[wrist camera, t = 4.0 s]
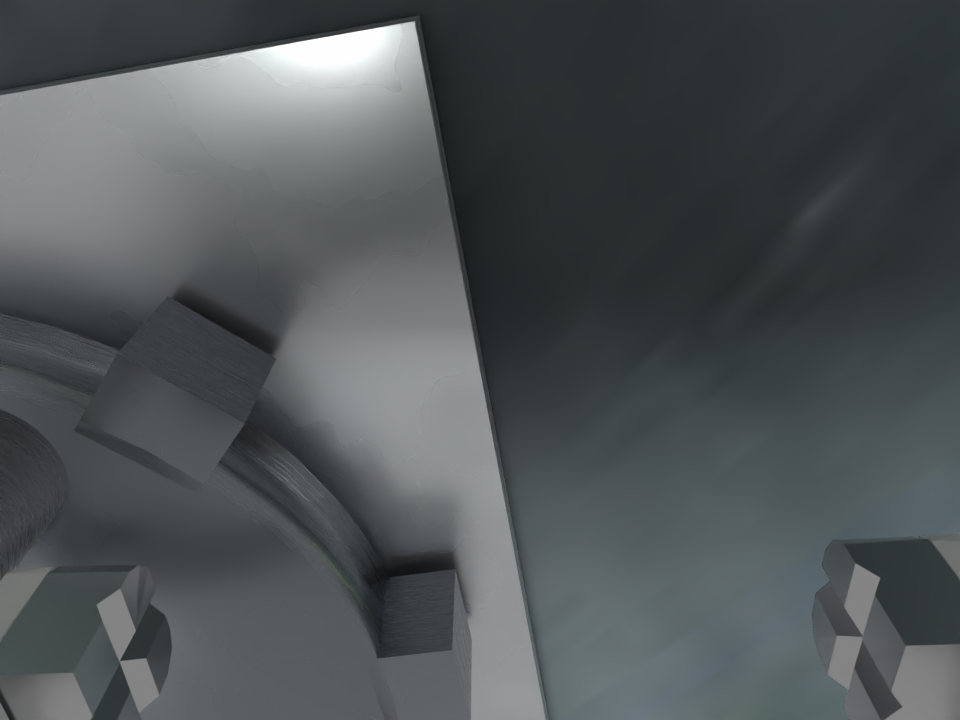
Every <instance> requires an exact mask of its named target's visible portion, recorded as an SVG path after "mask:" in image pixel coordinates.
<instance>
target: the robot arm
mask: <svg viewBox="0 0 960 720" xmlns="http://www.w3.org/2000/svg"><path fill="white" fill-rule="evenodd" d="M822 567H823V569H824V571H825V572H826V574H827V576H828V578H829V580H830V581H829V582H828V583H827V584H825V585H824V586H823V587H822V588H821V589H820V590H819V591H818V592H817V593H816V594H815V599H814V605H813V611H812V622H813V633H814V640H815V643H816V646H817V650H818V653H819V656H820V658H821V661H822V663H823V665H824V667H825V669H826V672H827V674H828V675H829V676H831V677H832V678H833V679H835V680H836V681H837V682H839V683H840V684H841V685H843V686H844V687H845V688H847V689H848V693H847V697H846V701H845V705H844V710H845V712H846V714H847V716H848V718H849V720H960V534H947V535H928V536H919V537H894V538H871V539H848V540H832V541H831V543H830V544H829V545H828V547H827V548H826V550H825V554H824V558H823V562H822ZM156 589H157V588H156V586H155V583H154V581H153V578H152V575H151V573H150V570H149V568H146V567H144V566H141V565H89V566H59V567H18V568H16V569H14V570H13V571H11V572H9V573H7V574H6V575H5V576H4V577H3V578H2V580H1V581H0V720H141V717H140V714H139V712H140V711H142V710H143V709H144V708H145V707H146V706H147V705H149V704H150V703H151V702H152V701H153V700H154V699H156V698H157V697H158V696H159V695H160V693H161V690H162V688H163V685H164V683H165V680H166V678H167V675H168V671H169V664H170V658H171V652H172V643H171V631H170V627H169V624H168V621H167V618H166V615H165V614H163V613H162V612H161V611H159V610H158V609H157V608H155V607H154V606H153V605H152V604H150V601H151V599H152V597H153V595H154V593H155V591H156Z"/></svg>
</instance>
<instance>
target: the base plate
mask: <svg viewBox="0 0 960 720" xmlns="http://www.w3.org/2000/svg"><path fill="white" fill-rule="evenodd" d="M167 296H169V297H170V298H172V299H174V300H175V301H177V302H179V303H181V304H182V305H184V306H186V307H188V308H189V309H191V310H193V311H194V312H196V313H198V314H200V315H201V316H203V317H205V318H207V319H208V320H210V321H212V322H213V323H215V324H217V325H219V326H220V327H222V328H224V329H226V330H227V331H229V332H231V333H232V334H234V335H236V336H238V337H239V338H241V339H243V340H245V341H246V342H248V343H250V344H252V345H253V346H255V347H257V348H258V349H260V350H262V351H264V352H265V353H267V354H269V355H271V356H272V357H274V358H276V361H275V363H274V365H273V367H272V369H271V371H270V373H269V375H268V377H267V379H266V381H265V383H264V385H263V387H262V389H261V391H260V393H259V396H258V398H257V400H256V402H255V404H254V406H253V408H252V410H251V412H250V414H249V416H248V418H247V419H248V420H249V421H250V422H252V423H253V424H254V425H256V426H257V427H258V428H259V429H261V430H262V431H263V432H265V433H266V434H267V435H268V436H270V437H271V438H272V439H274V440H275V441H276V442H277V443H279V444H280V445H281V446H283V447H284V448H285V449H286V450H288V451H289V452H290V453H292V454H293V455H294V456H295V457H296V458H297V459H298V460H299V461H300V462H301V463H302V464H303V465H304V466H305V467H306V468H307V469H308V470H309V471H310V472H311V473H312V474H313V475H314V476H315V477H316V478H317V479H318V480H319V481H320V482H321V483H322V484H323V485H324V486H325V487H326V488H327V489H328V490H329V491H330V492H331V493H332V494H333V495H334V496H335V497H336V499H337V500H338V501H339V502H340V504H341V505H342V506H343V508H344V509H345V510H346V511H347V513H348V514H349V515H350V516H351V518H352V519H353V520H354V521H355V523H356V524H357V525H358V527H359V528H360V529H361V530H362V532H363V533H364V534H365V536H366V538H367V540H368V541H369V543H370V545H371V546H372V548H373V550H374V552H375V553H376V555H377V557H378V558H379V560H380V562H381V564H382V565H383V567H384V569H385V570H386V572H387V574H388V577H395V576H403V575H412V574H420V573H428V572H436V571H444V570H453V569H455V570H456V574H457V578H458V583H459V587H460V591H461V595H462V599H463V604H464V608H465V612H466V616H467V620H468V624H469V629H470V633H471V637H472V668H471V720H549V716H548V711H547V706H546V700H545V695H544V689H543V684H542V678H541V673H540V668H539V662H538V657H537V651H536V646H535V640H534V635H533V630H532V624H531V619H530V613H529V608H528V602H527V597H526V592H525V586H524V581H523V575H522V570H521V564H520V559H519V553H518V548H517V543H516V537H515V532H514V526H513V521H512V515H511V510H510V505H509V499H508V494H507V488H506V483H505V477H504V472H503V467H502V461H501V456H500V450H499V445H498V439H497V434H496V429H495V423H494V418H493V412H492V407H491V401H490V396H489V390H488V385H487V380H486V374H485V369H484V363H483V358H482V352H481V347H480V342H479V336H478V331H477V325H476V320H475V314H474V309H473V304H472V298H471V293H470V287H469V282H468V276H467V271H466V265H465V260H464V255H463V249H462V244H461V238H460V233H459V227H458V222H457V217H456V211H455V206H454V200H453V195H452V189H451V184H450V179H449V173H448V168H447V162H446V157H445V151H444V146H443V141H442V135H441V130H440V124H439V119H438V113H437V108H436V102H435V97H434V92H433V86H432V81H431V75H430V70H429V64H428V59H427V54H426V48H425V43H424V37H423V32H422V26H421V21H420V16H419V15H418V16H413V17H407V18H401V19H396V20H390V21H385V22H379V23H374V24H368V25H362V26H357V27H351V28H346V29H340V30H335V31H329V32H323V33H318V34H312V35H307V36H301V37H296V38H290V39H284V40H279V41H273V42H268V43H262V44H257V45H251V46H245V47H240V48H234V49H229V50H223V51H218V52H212V53H207V54H201V55H195V56H190V57H184V58H179V59H173V60H168V61H162V62H156V63H151V64H145V65H140V66H134V67H129V68H123V69H117V70H112V71H106V72H101V73H95V74H90V75H84V76H78V77H73V78H67V79H62V80H56V81H51V82H45V83H39V84H34V85H28V86H23V87H17V88H12V89H6V90H0V313H2V314H5V315H9V316H13V317H17V318H21V319H25V320H29V321H33V322H37V323H41V324H45V325H49V326H53V327H57V328H61V329H63V330H66V331H69V332H72V333H74V334H77V335H80V336H83V337H85V338H88V339H91V340H94V341H96V342H99V343H102V344H105V345H107V346H110V347H113V348H116V349H118V350H121V349H122V348H123V346H124V345H125V344H126V343H127V342H128V341H129V340H130V338H131V337H132V336H133V335H134V334H135V333H136V332H137V330H138V329H139V328H140V327H141V326H142V325H143V324H144V322H145V321H146V320H147V319H148V318H149V317H150V316H151V314H152V313H153V312H154V311H155V310H156V309H157V308H158V306H159V305H160V304H161V303H162V302H163V301H164V300H165V299H166V297H167Z"/></svg>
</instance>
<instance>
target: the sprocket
mask: <svg viewBox="0 0 960 720" xmlns="http://www.w3.org/2000/svg"><path fill="white" fill-rule="evenodd" d="M275 361H276V358H274V357H272V356H271V355H269V354H267V353H265V352H264V351H262V350H260V349H258V348H257V347H255V346H253V345H252V344H250V343H248V342H246V341H245V340H243V339H241V338H239V337H238V336H236V335H234V334H232V333H231V332H229V331H227V330H226V329H224V328H222V327H220V326H219V325H217V324H215V323H213V322H212V321H210V320H208V319H207V318H205V317H203V316H201V315H200V314H198V313H196V312H194V311H193V310H191V309H189V308H188V307H186V306H184V305H182V304H181V303H179V302H177V301H175V300H174V299H172V298H170V297H169V296H167V297H166V299H165V300H164V301H163V302H162V303H161V304H160V305H159V306H158V308H157V309H156V310H155V311H154V312H153V313H152V314H151V316H150V317H149V318H148V319H147V320H146V321H145V322H144V324H143V325H142V326H141V327H140V328H139V329H138V330H137V332H136V333H135V334H134V335H133V336H132V337H131V338H130V340H129V341H128V342H127V343H126V344H125V345H124V346H123V348H122V349H121V350H118V349H116V348H113V347H110V346H107V345H105V344H102V343H99V342H96V341H94V340H91V339H88V338H85V337H83V336H80V335H77V334H74V333H72V332H69V331H66V330H63V329H61V328H57V327H53V326H49V325H45V324H41V323H37V322H33V321H29V320H25V319H21V318H17V317H13V316H9V315H5V314H2V313H0V581H1V580H2V578H3V577H4V576H5V575H6V574H7V573H9V572H11V571H13V570H14V569H16V568H18V567H59V566H89V565H141V566H144V567H146V568H149V570H150V573H151V575H152V578H153V581H154V583H155V586H156V588H157V589H156V591H155V593H154V595H153V597H152V599H151V601H150V604H152V605H153V606H154V607H155V608H157V609H158V610H159V611H161V612H162V613H163V614H165V615H166V618H167V621H168V624H169V627H170V631H171V643H172V652H171V658H170V664H169V671H168V675H167V678H166V680H165V683H164V685H163V688H162V690H161V693H160V695H159V696H158V697H157V698H156V699H154V700H153V701H152V702H151V703H150V704H149V705H147V706H146V707H145V708H144V709H143V710H142V711H140V712H139V714H140V717H141V720H471V668H472V637H471V633H470V629H469V624H468V620H467V616H466V612H465V608H464V604H463V599H462V595H461V591H460V587H459V583H458V578H457V574H456V570H455V569H453V570H444V571H436V572H428V573H420V574H412V575H403V576H395V577H388V574H387V572H386V570H385V569H384V567H383V565H382V564H381V562H380V560H379V558H378V557H377V555H376V553H375V552H374V550H373V548H372V546H371V545H370V543H369V541H368V540H367V538H366V536H365V534H364V533H363V532H362V530H361V529H360V528H359V527H358V525H357V524H356V523H355V521H354V520H353V519H352V518H351V516H350V515H349V514H348V513H347V511H346V510H345V509H344V508H343V506H342V505H341V504H340V502H339V501H338V500H337V499H336V497H335V496H334V495H333V494H332V493H331V492H330V491H329V490H328V489H327V488H326V487H325V486H324V485H323V484H322V483H321V482H320V481H319V480H318V479H317V478H316V477H315V476H314V475H313V474H312V473H311V472H310V471H309V470H308V469H307V468H306V467H305V466H304V465H303V464H302V463H301V462H300V461H299V460H298V459H297V458H296V457H295V456H294V455H293V454H292V453H290V452H289V451H288V450H286V449H285V448H284V447H283V446H281V445H280V444H279V443H277V442H276V441H275V440H274V439H272V438H271V437H270V436H268V435H267V434H266V433H265V432H263V431H262V430H261V429H259V428H258V427H257V426H256V425H254V424H253V423H252V422H250V421H249V420H248V419H247V418H248V416H249V414H250V412H251V410H252V408H253V406H254V404H255V402H256V400H257V398H258V396H259V393H260V391H261V389H262V387H263V385H264V383H265V381H266V379H267V377H268V375H269V373H270V371H271V369H272V367H273V365H274V363H275Z"/></svg>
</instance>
